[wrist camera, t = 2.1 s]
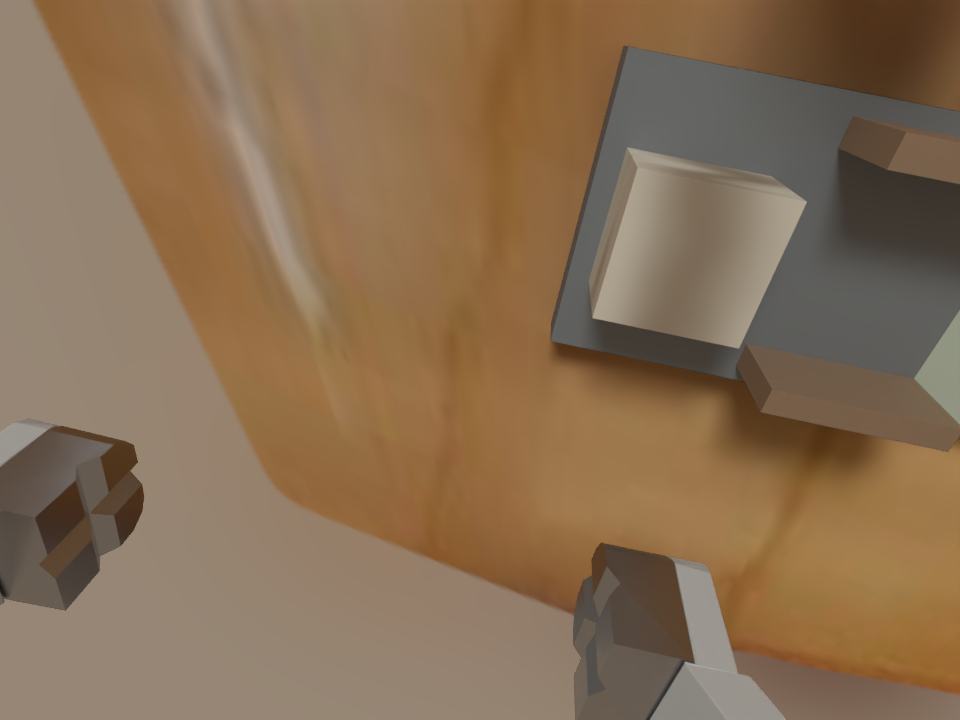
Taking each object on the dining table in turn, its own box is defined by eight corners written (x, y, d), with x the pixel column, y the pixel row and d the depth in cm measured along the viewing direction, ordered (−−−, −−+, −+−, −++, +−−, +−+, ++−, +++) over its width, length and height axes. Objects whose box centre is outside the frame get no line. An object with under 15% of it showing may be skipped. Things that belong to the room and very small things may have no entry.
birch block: (771, 176, 23) (807, 201, 20) (716, 306, 27) (739, 348, 23) (626, 147, 24) (637, 167, 20) (588, 280, 27) (592, 318, 23)
